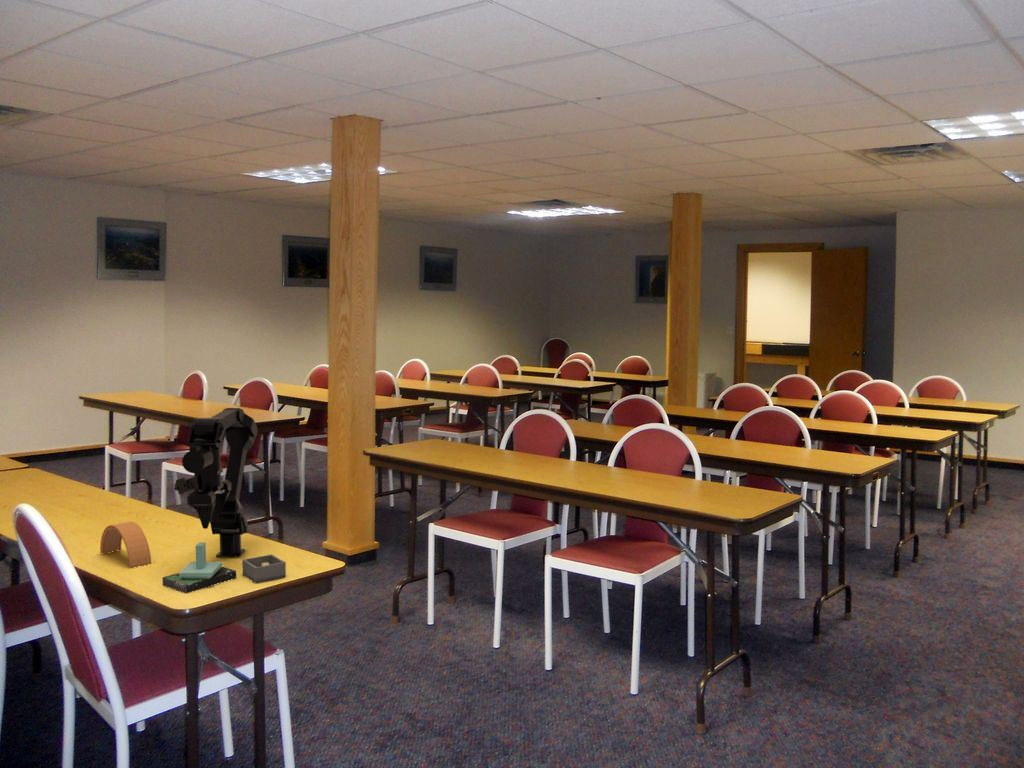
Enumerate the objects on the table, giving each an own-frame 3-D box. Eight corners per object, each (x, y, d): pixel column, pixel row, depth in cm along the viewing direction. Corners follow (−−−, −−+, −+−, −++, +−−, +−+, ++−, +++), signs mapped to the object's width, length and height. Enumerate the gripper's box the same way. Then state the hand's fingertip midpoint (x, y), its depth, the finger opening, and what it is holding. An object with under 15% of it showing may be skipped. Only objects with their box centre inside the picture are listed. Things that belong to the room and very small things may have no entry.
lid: (191, 568, 225) (190, 539, 224) (222, 568, 226) (221, 539, 225) (179, 580, 216) (178, 549, 216) (212, 579, 217) (211, 549, 216)
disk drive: (212, 573, 230) (161, 587, 218) (212, 563, 230) (161, 576, 218) (237, 580, 225) (186, 595, 212) (237, 570, 224) (186, 584, 212)
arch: (129, 569, 232) (128, 532, 231) (100, 554, 246) (98, 519, 245) (151, 564, 236) (150, 528, 235) (121, 550, 250) (119, 515, 249)
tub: (242, 574, 227) (242, 559, 227) (272, 568, 232) (271, 554, 232) (255, 583, 220) (255, 568, 220) (285, 577, 225) (285, 562, 225)
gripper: (189, 459, 238) (191, 515, 240) (165, 472, 220) (167, 533, 221) (231, 459, 239) (232, 515, 240) (209, 472, 220) (211, 533, 221)
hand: (210, 524), depth 231 cm, fingers open, 9 cm apart
